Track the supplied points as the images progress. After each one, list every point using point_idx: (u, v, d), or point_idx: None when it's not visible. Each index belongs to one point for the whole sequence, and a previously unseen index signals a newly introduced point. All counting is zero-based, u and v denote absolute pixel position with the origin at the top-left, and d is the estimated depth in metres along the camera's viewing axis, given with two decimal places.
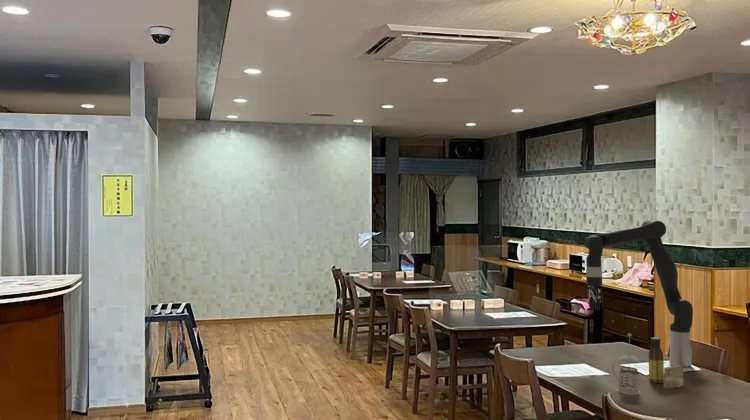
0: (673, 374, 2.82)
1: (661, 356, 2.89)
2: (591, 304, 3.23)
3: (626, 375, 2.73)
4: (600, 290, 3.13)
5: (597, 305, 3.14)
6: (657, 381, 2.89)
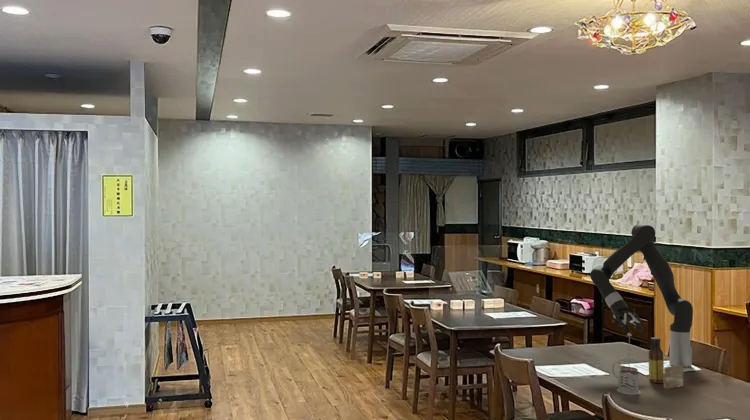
0: (673, 374, 2.82)
1: (661, 356, 2.89)
2: (639, 328, 3.04)
3: (626, 375, 2.73)
4: (614, 315, 3.04)
5: (624, 329, 3.01)
6: (657, 381, 2.89)
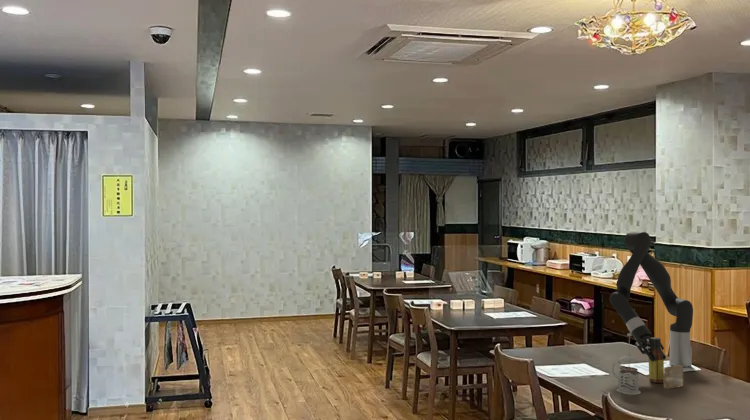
0: (673, 374, 2.82)
1: (661, 356, 2.89)
2: None
3: (626, 375, 2.73)
4: (637, 342, 2.92)
5: (649, 357, 2.89)
6: (657, 381, 2.89)
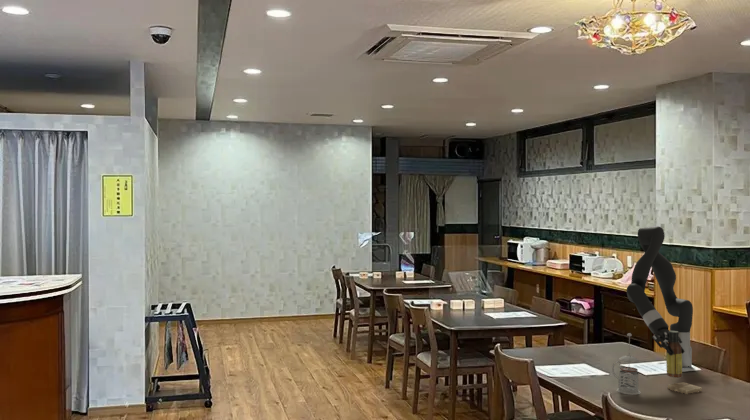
0: None
1: (679, 350, 2.80)
2: None
3: (626, 375, 2.73)
4: (655, 336, 2.84)
5: (667, 351, 2.81)
6: (675, 375, 2.80)
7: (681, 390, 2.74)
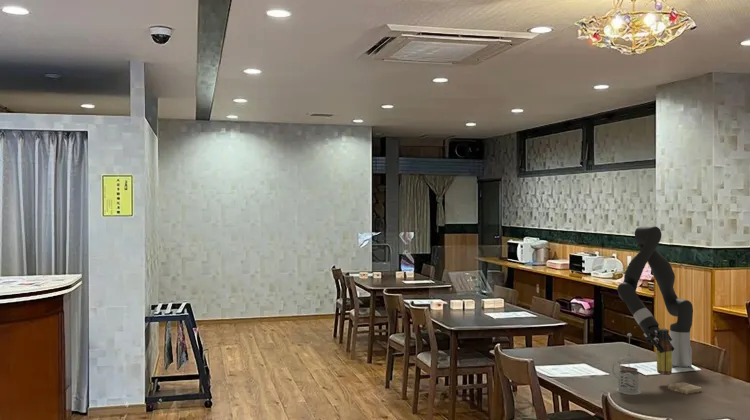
0: None
1: (669, 347, 2.85)
2: None
3: (626, 375, 2.73)
4: (645, 333, 2.88)
5: (657, 348, 2.86)
6: (665, 373, 2.85)
7: (681, 390, 2.74)
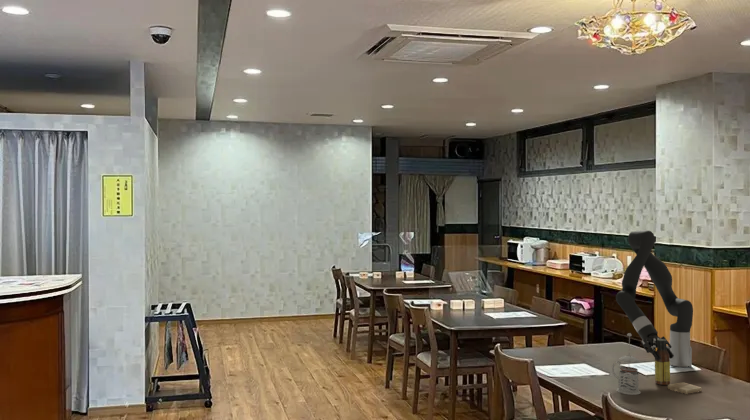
0: None
1: (667, 358, 2.86)
2: (669, 355, 2.90)
3: (626, 375, 2.73)
4: (643, 340, 2.89)
5: (654, 356, 2.86)
6: (663, 383, 2.85)
7: (681, 390, 2.74)
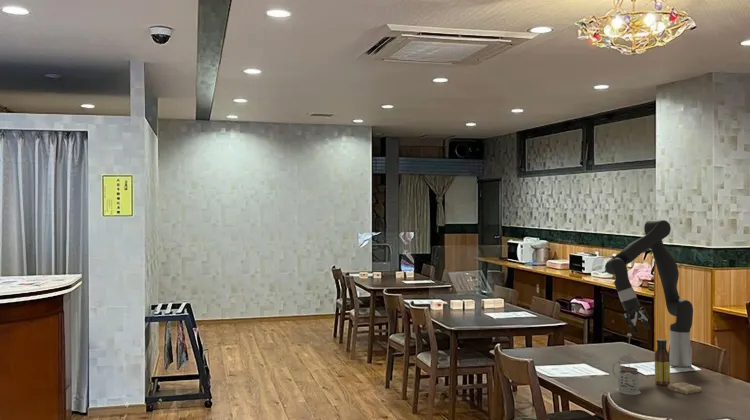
0: None
1: (667, 358, 2.86)
2: (645, 326, 3.05)
3: (626, 375, 2.73)
4: (626, 315, 3.01)
5: None
6: (663, 383, 2.85)
7: (681, 390, 2.74)
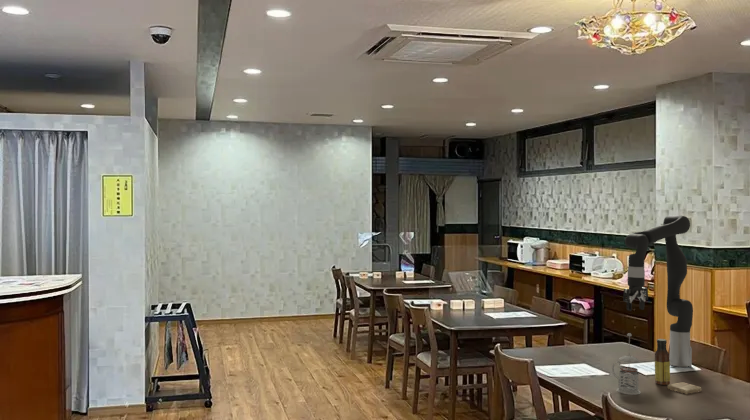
0: None
1: (667, 358, 2.86)
2: (640, 306, 3.08)
3: (626, 375, 2.73)
4: (626, 290, 3.02)
5: (627, 306, 3.04)
6: (663, 383, 2.85)
7: (681, 390, 2.74)
